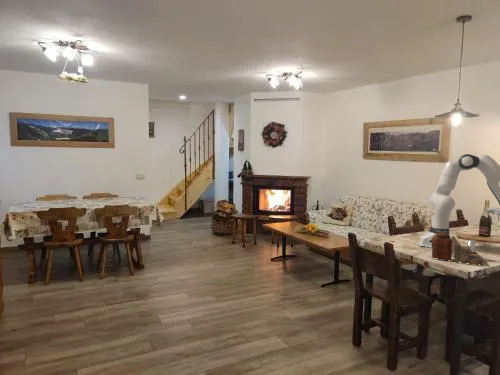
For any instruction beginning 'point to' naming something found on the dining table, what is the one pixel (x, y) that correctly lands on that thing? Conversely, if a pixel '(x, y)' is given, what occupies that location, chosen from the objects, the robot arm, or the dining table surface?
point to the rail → (464, 254)
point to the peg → (471, 247)
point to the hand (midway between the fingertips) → (491, 212)
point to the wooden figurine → (442, 246)
